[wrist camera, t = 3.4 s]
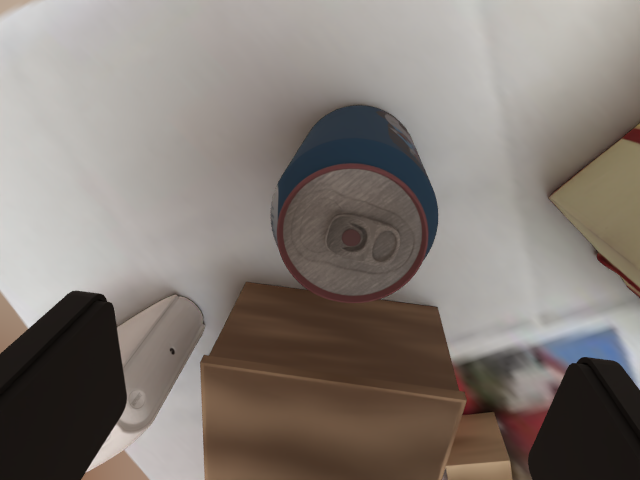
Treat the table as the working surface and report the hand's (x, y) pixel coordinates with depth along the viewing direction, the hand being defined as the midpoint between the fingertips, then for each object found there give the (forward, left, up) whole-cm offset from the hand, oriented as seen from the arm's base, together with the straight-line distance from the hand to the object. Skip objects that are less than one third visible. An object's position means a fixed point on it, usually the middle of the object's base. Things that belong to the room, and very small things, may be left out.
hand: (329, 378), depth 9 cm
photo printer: (-16, +14, -20) cm, 29 cm away
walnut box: (-17, 0, -20) cm, 26 cm away
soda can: (0, 0, -20) cm, 20 cm away
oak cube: (-22, -12, -20) cm, 32 cm away
